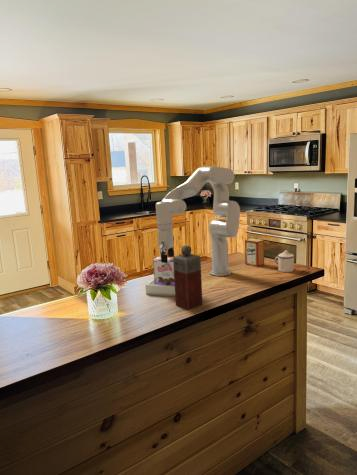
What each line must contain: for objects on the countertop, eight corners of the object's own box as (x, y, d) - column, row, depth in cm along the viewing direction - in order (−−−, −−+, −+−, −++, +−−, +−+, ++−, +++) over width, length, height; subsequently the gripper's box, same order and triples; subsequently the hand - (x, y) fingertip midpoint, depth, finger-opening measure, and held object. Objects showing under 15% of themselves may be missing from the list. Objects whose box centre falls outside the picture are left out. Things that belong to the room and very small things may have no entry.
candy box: (154, 290, 194) (152, 259, 191) (160, 286, 200) (158, 256, 196) (178, 292, 188) (176, 260, 185) (183, 289, 193) (182, 257, 190)
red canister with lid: (186, 298, 182) (183, 242, 177) (202, 304, 174) (200, 245, 168) (172, 304, 177) (168, 245, 171) (188, 310, 168) (185, 249, 163)
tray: (155, 286, 203) (154, 277, 202) (190, 288, 196) (190, 279, 195) (146, 294, 192) (145, 284, 191) (183, 296, 185) (183, 287, 184)
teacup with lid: (297, 269, 219) (297, 250, 217) (288, 273, 213) (288, 253, 211) (279, 266, 228) (279, 247, 226) (270, 269, 222) (270, 250, 220)
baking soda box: (245, 264, 237) (244, 239, 233) (251, 262, 241) (251, 237, 238) (257, 267, 229) (257, 241, 226) (264, 264, 234) (264, 239, 231)
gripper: (164, 223, 197) (166, 254, 200) (151, 230, 181) (154, 264, 185) (177, 222, 194) (180, 255, 198) (166, 230, 178) (169, 264, 182)
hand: (167, 259), depth 191 cm, fingers open, 9 cm apart
